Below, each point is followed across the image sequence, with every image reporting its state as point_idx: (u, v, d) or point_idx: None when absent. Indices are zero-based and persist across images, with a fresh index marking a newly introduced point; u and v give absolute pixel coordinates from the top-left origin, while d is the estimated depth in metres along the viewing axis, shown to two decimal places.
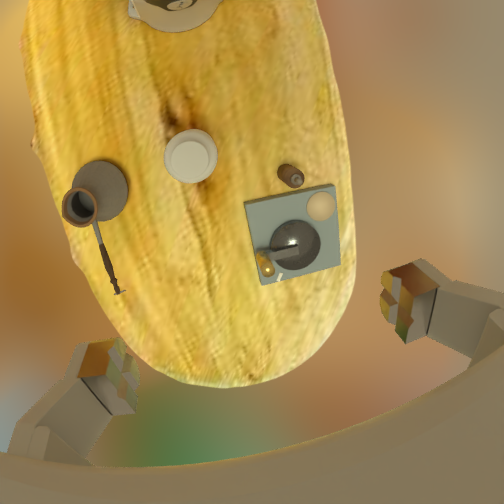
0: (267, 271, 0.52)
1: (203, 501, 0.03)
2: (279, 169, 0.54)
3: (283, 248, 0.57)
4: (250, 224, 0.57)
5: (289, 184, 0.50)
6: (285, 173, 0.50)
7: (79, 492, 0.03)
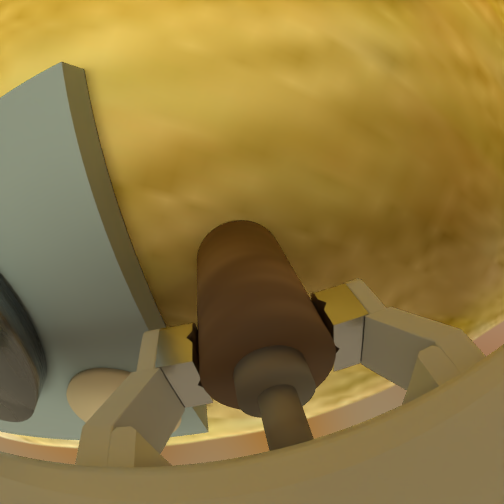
0: None
1: (203, 501, 0.03)
2: (262, 233, 0.11)
3: None
4: None
5: (227, 348, 0.06)
6: (297, 300, 0.07)
7: (79, 492, 0.03)
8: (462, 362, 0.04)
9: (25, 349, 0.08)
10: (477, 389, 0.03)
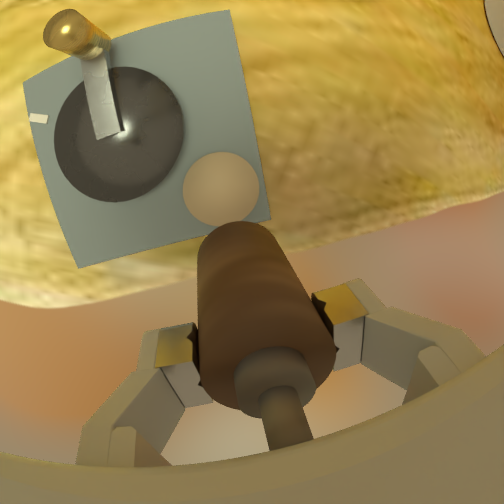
0: (61, 25, 0.09)
1: (203, 501, 0.03)
2: (263, 233, 0.11)
3: (113, 93, 0.16)
4: (178, 21, 0.17)
5: (227, 349, 0.06)
6: (298, 301, 0.07)
7: (78, 492, 0.03)
8: (462, 362, 0.04)
9: (183, 125, 0.19)
10: (477, 389, 0.03)
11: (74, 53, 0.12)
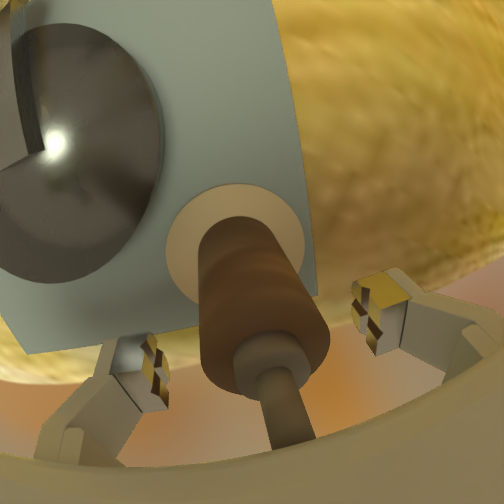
0: None
1: (203, 501, 0.03)
2: (260, 227, 0.11)
3: (21, 77, 0.06)
4: None
5: (226, 332, 0.07)
6: (293, 287, 0.07)
7: (79, 492, 0.03)
8: (499, 337, 0.04)
9: (160, 132, 0.09)
10: (477, 389, 0.03)
11: None
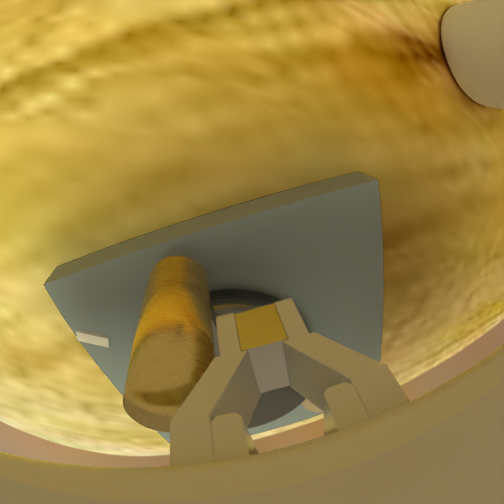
0: (169, 405, 0.06)
1: (203, 501, 0.03)
2: None
3: None
4: (305, 204, 0.13)
5: None
6: None
7: (79, 492, 0.03)
8: (376, 406, 0.04)
9: None
10: (477, 389, 0.03)
11: None
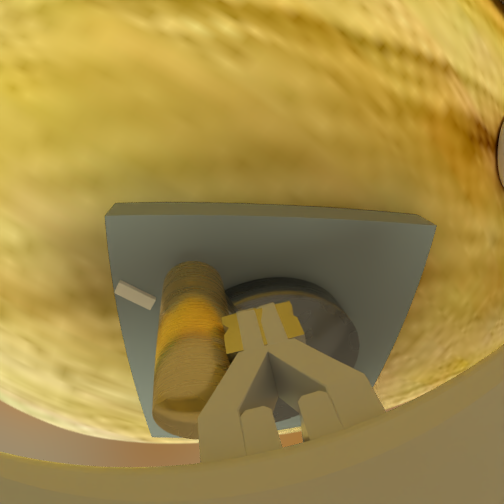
0: (198, 413, 0.06)
1: (203, 501, 0.03)
2: None
3: None
4: (388, 226, 0.15)
5: None
6: None
7: (78, 492, 0.03)
8: (350, 416, 0.04)
9: None
10: (477, 389, 0.03)
11: None
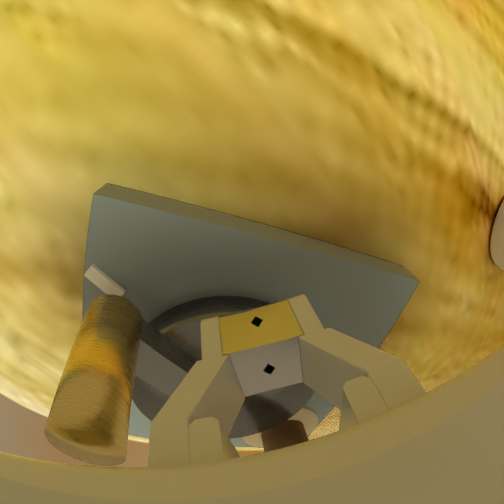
0: (79, 444, 0.06)
1: (203, 501, 0.03)
2: (304, 431, 0.19)
3: None
4: (373, 271, 0.15)
5: None
6: None
7: (79, 492, 0.03)
8: (394, 398, 0.04)
9: None
10: (477, 389, 0.03)
11: None
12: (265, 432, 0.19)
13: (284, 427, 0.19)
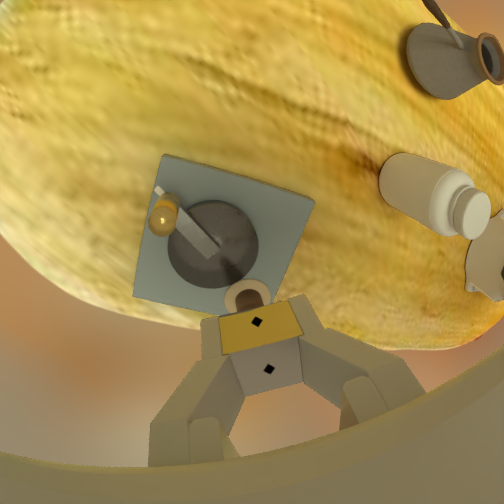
0: (160, 221, 0.24)
1: (203, 501, 0.03)
2: (260, 297, 0.37)
3: (202, 228, 0.30)
4: (284, 193, 0.33)
5: None
6: None
7: (79, 492, 0.03)
8: (394, 398, 0.04)
9: (252, 224, 0.33)
10: (477, 389, 0.03)
11: None
12: (237, 296, 0.37)
13: (248, 291, 0.37)
